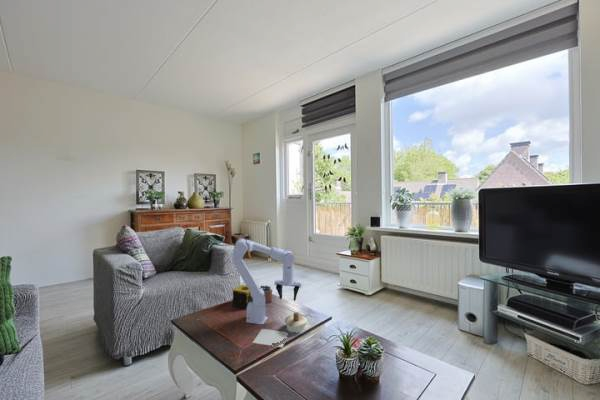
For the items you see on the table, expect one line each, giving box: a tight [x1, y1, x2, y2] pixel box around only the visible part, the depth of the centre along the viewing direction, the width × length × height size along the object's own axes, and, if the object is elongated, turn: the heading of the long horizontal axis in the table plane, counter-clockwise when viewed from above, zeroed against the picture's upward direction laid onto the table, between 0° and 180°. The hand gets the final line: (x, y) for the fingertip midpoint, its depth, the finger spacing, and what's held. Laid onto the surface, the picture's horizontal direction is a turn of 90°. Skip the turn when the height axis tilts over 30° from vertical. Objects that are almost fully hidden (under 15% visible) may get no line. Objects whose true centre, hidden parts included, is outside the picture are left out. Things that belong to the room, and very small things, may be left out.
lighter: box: [259, 285, 273, 304], centre depth 162 cm, size 8×3×10 cm, turn 84°
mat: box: [252, 328, 289, 348], centre depth 124 cm, size 14×12×1 cm
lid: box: [284, 311, 308, 327], centre depth 132 cm, size 11×11×4 cm
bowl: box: [286, 324, 306, 334], centre depth 132 cm, size 9×9×4 cm
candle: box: [231, 284, 253, 310], centre depth 157 cm, size 10×10×10 cm
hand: (287, 299), depth 142 cm, fingers open, 7 cm apart
